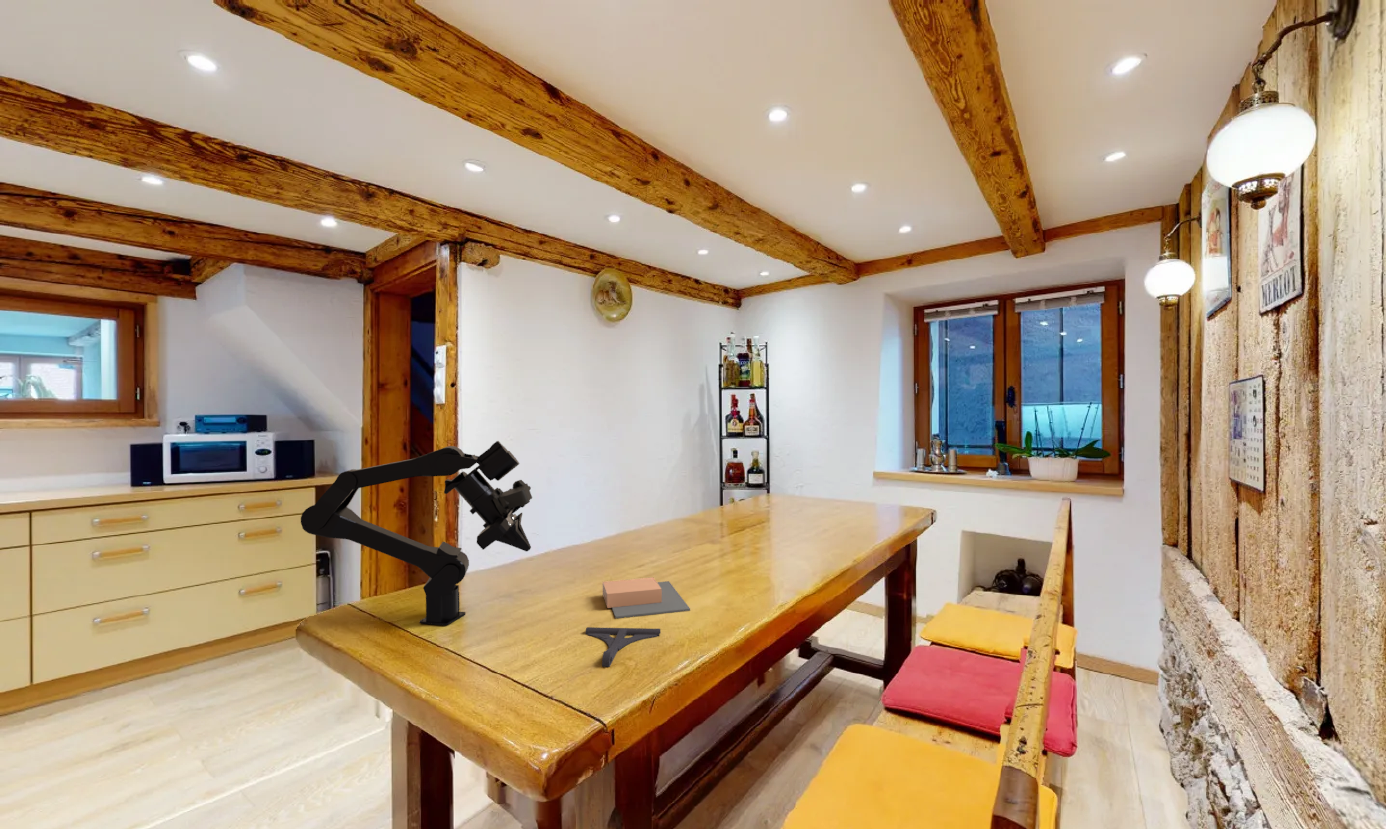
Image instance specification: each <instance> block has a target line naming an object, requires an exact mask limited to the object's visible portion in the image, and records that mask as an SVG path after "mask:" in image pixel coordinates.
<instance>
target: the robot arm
mask: <svg viewBox="0 0 1386 829" xmlns="http://www.w3.org/2000/svg"><path fill="white" fill-rule="evenodd" d="M476 464H477V465H478V466H476V467H474V468H473V470H472V471H469V472H468V473H467V472H465V471H461V472H460V473H459V474H457V475H456V476H455V477H454V478H452V479H449V478H448V479H445V480H444V490H443V493H444V494H445V495H448V494H449V493H451V491H452V490H455V491H456V492H457V493H458V494H459V495H460V496H461V497H462V498H463V500H464V501H465V502H466V503H467V504H468V505H469V506H470V507H471V509H470V510H469V512H470V513H471V514H472V515H474V514H475V513H476V514H477V515H478V516H479V517H480V518H481V519H482V520H483V522H484V524H483V525H482V527H483V528H484V529H482V530H481V531H480V532H479V534H478V535H477V536H476V544H477V545H478V546H479V547H480V548H481V550H485V549H486V548H488V547H489V546H490V545H491V544H493V543H494V542H499V543H503V544H505V545H509V546H510V547H514V548H515V549H519V550H522V551H524V552H529V551H530V550H531V548H532V546H531V543H530V542H529V539H528V537H527V535H526V533H525V531H524V529H523V526H522V517H523V512H520V513H519V514H518V515H516V512H517V511H518V510H519V509H520V508H524V507H525V506H526V505H527V504H529V503H530V501H531V500H532V499H533V496H532V493H531V491H530V490H531V486H530V485H528V483H526V482H524V481H523V480H522V479H519V480H516V481H514V482H513V484H512V488H509V489H507V490H506V491H503V490H502V489H501V488H499V487H496V488H494V487H493V486H492V485H491V484H490V482H488V481H487V479H488V480H489V481H493V480H495V481H498V482H499V481H500V480H502V479H503V478H504V477H505V476H506V475H508V474H509V473H510V472H511V471H513V470H514V469H515V468H517V467H518V466H519V465H520V462H519V460H518V459H517V458H516V457H515V455H514V454H513V453H512V452H511V451H510V450H508V449H507V448H506V446H504V445H503V444H502V443H501V442H500V441H499V440H496V441H495V442H494V443H492V445H490V447H489V448H488V449H486V450H485V451H484V452H482V453H481V454H480V455H479V456H478V455H475V454H468V453H466V452H463V450H462V449H460V448H459V447H458V446H454V445H448V446H445V447H443V448H439V449H436V450H434V451H431V452H428V453H427V454H423V455H421V456H420V455H419V456H418V457H413V458H411V459H405V460H400V461H395V462H389V463H384V464H379V465H374V466H369V467H365V468H363V467H362V468H359V469H354V468H353V469H349V470H346V471H343V472H341V473H340V474H338V476H337V477H336V478H335V480H334V482H333V483H332V484H331V485H330V486H329V488H328V489H327V490H326V491H325V492H324V493H323V494H322V495H321V497H320V498H319V499H318V500H317V501H316V502H315V504H313V505H310V506H309V507H307V508H306V509H305V510H304V511H302V514H301V516H300V524H301V527H302V529H303V531H304V532H306V533H307V534H310V535H313V536H320V537H321V538H329V539H339V540H348V541H351V542H354V543H357V544H359V545H362V546H364V547H366V548H370V549H372V550H374V551H377V552H379V553H382V554H384V555H387V556H390V557H392V558H395V559H397V560H400V561H402V562H405V563H407V564H411V565H412V566H415V567H417V568H419V570H421V571H422V572H424V574H425V575H426V576H427V577H429V578H428V580H427V581H426V582H425V584H424V586H423V588H422V589H423V592H424V594H425V617H424V618H422V619H420V620H419V624H423V625H424V624H425V625H435V626H436V625H437V626H448V625H451V624H452V623H454V622H455V621H457V620H459V619H460V618H462V617H464V616H466V611H460V591H459V590H460V589H459V588H460V586H459V584H460V583H461V582H462V581H463V580H464V578H465V576H466V574H467V572H468V570H469V566H470V560H469V556H468V555H467V554H466V553H464V552H463V551H461V550H463V549H462V547H457V546H453V545H451V544H450V543H448V542H446V541H442V542H441V544H440V545H439V546H429V545H427V544H424V543H422V542H419V541H416V540H413V539H411V538H409V537H407V536H404V535H402V534H399V533H397V532H394V531H391V530H389V529H386V528H384V527H383V526H379V525H377V524H374V523H371V522H369V521H366V520H365V519H362V518H361V517H360V516H358V515H357V513H356V512H354V510H352V509H351V508H349V507H348V506H349V505H350V503H351V502H352V501H353V498H354V496H355V495H356V494H357V491H358V490H360V489H361V488H366V487H371V486H375V485H382V484H386V483H392V482H394V481H395V482H397V481H400V480H406V479H411V478H415V477H448V476H452V475H454V474H456V473H457V472H459V471H460V470H467V469H471V467H473V466H474V465H476ZM480 472H481V473H482V474H483V475H484V476H483V475H482V474H481V473H480ZM485 478H487V479H485Z"/></svg>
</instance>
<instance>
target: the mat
mask: <svg viewBox="0 0 1386 829" xmlns="http://www.w3.org/2000/svg"><path fill="white" fill-rule="evenodd" d="M656 582H657V583H658V584H659V586H660V587H661V589H662V602H660V603H650V604H641V605H631V606H621V607H612V608H611V610H612V612H613V615H614V618H615V619H616V618H617V619H625V618H624V617H626V618H632V617H633V616H634V617H633V618H635V617H645V616H653V615H662V614H670V613H671V614H672V613H678V612H679V613H681V612H688V611H691V607H690V606H689V605H688V604H687V603H686V601H685V600H684V599H683V597H682V595H680V594H679V592H678V590H676V588H675V587H674V586H673V584H672V583H671V582H670V580H668V581H667V580H666V581H656Z"/></svg>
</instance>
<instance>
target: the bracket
mask: <svg viewBox="0 0 1386 829" xmlns="http://www.w3.org/2000/svg"><path fill="white" fill-rule="evenodd" d="M585 628H586V629H585V635H587V636H589V637H594V638H595V639H599V640H601V641H602V642H604V643H606V645H607V646H608V648H607V649H606V650H605V651H603V652H602V653H603V654H602V658H601V667H603V668H610V667H611V665H612V663H613V661H614V659H615V657H616V655H617V654H618V652H619V651H620V650H622V649H623V648H624V647H627V646H628V645H630V644H632V643H635V642H638V641H643V640H646V639H653V638H657V637H660V634H661V628H646V627H645V628H643V627H642V628H640V627H639V628H638V627H636V628H635V627H634V628H633V627H594V626H589V627H585ZM613 636H615V637H613ZM626 636H627V637H626ZM628 636H629V637H628Z"/></svg>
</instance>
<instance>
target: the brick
mask: <svg viewBox="0 0 1386 829" xmlns="http://www.w3.org/2000/svg"><path fill="white" fill-rule="evenodd" d="M657 582H658V581H657V580H656V579H655V577H640V578H631V579H618V580H607V581H602V596H603V599H604V603H605V605H606V608H608V609H612V607H621V606H631V605H641V604H650V603H660V602H662V589H661V587H660V586H659V584H658V583H657Z"/></svg>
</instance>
